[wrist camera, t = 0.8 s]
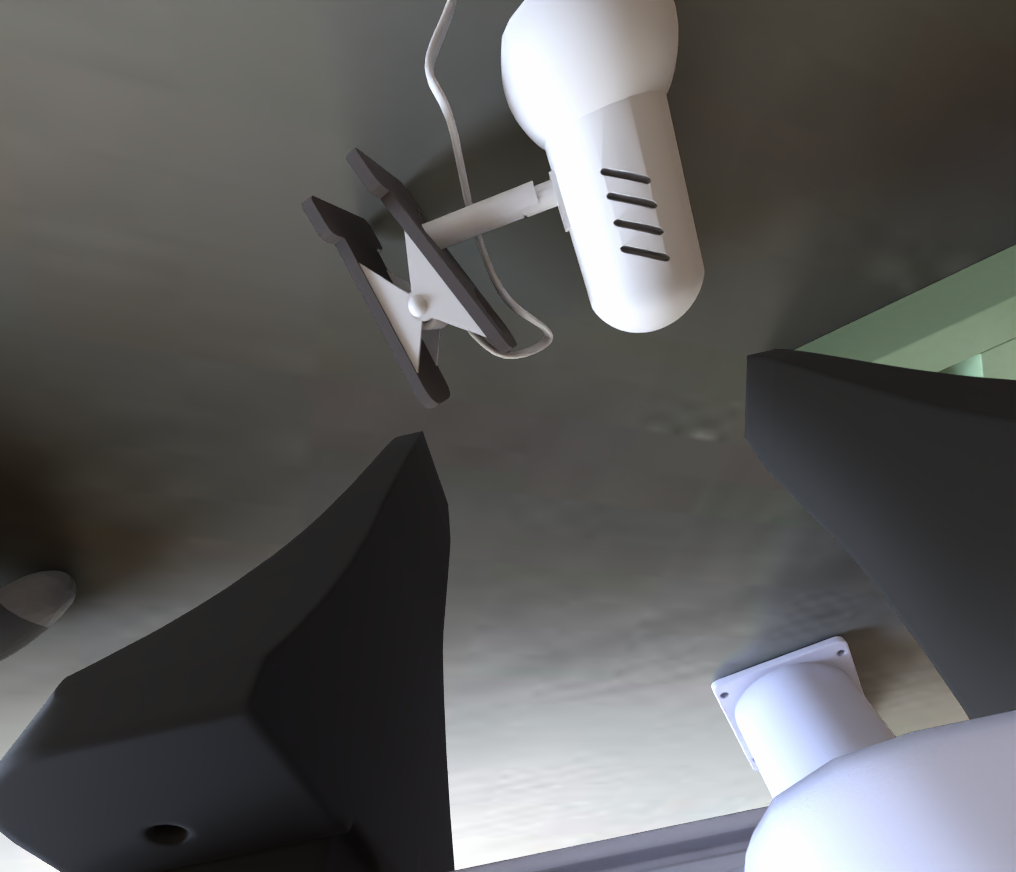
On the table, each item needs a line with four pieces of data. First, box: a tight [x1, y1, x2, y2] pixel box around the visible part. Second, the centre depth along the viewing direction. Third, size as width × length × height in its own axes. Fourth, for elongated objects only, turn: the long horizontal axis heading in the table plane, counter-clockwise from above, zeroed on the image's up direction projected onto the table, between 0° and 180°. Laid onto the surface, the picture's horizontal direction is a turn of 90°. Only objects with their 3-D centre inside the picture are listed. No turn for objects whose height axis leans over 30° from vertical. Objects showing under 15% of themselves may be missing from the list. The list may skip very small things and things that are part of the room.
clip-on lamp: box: [302, 0, 705, 409], centre depth 14 cm, size 12×6×18 cm
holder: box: [795, 245, 1016, 380], centre depth 20 cm, size 8×14×4 cm, turn 118°
